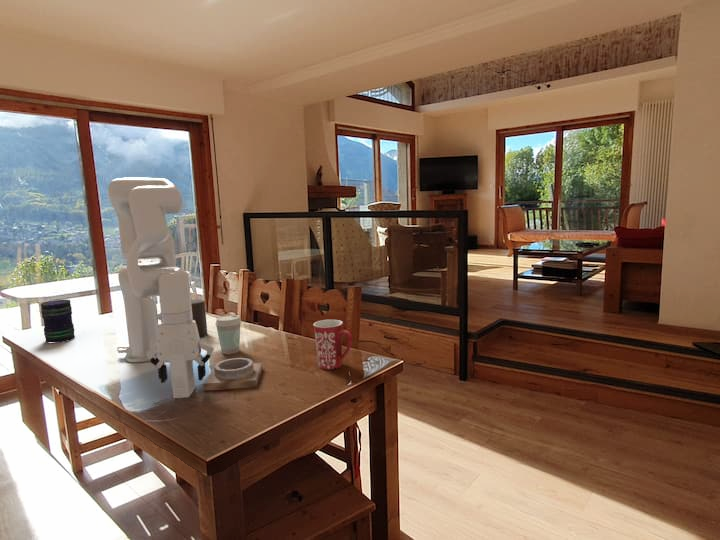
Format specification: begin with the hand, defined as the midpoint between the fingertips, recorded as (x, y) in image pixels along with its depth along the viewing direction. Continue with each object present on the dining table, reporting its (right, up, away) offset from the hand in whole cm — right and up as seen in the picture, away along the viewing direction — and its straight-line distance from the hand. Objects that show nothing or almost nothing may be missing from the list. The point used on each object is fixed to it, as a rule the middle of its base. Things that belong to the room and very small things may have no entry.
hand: (182, 379), depth 121 cm
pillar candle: (-17, +4, +56) cm, 58 cm away
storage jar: (-70, +2, +56) cm, 90 cm away
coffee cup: (+3, +1, +35) cm, 35 cm away
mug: (+40, 0, +17) cm, 43 cm away
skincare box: (0, -4, +1) cm, 4 cm away
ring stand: (+11, -2, +10) cm, 15 cm away
